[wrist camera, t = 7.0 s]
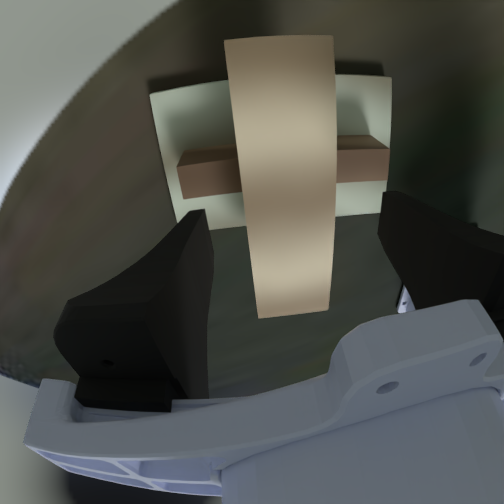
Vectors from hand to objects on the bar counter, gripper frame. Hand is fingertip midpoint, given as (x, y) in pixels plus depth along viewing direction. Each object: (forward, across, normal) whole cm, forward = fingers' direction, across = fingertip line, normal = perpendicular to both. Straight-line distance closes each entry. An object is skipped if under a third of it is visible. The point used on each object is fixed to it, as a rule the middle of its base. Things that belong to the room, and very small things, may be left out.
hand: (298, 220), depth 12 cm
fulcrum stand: (+9, 0, 0) cm, 9 cm away
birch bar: (+5, 0, 0) cm, 5 cm away
